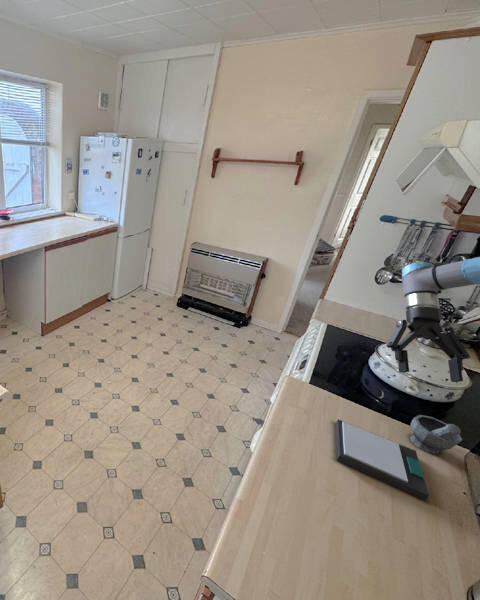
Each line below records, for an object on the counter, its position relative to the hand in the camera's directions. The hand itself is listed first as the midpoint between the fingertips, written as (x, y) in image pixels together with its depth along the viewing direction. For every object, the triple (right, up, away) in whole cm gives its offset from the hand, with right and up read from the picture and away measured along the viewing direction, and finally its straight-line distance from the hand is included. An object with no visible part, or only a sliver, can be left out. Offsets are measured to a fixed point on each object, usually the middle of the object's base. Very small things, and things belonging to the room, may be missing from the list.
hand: (430, 376), depth 95 cm
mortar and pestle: (-3, -20, -2) cm, 20 cm away
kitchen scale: (-23, -21, -6) cm, 31 cm away
